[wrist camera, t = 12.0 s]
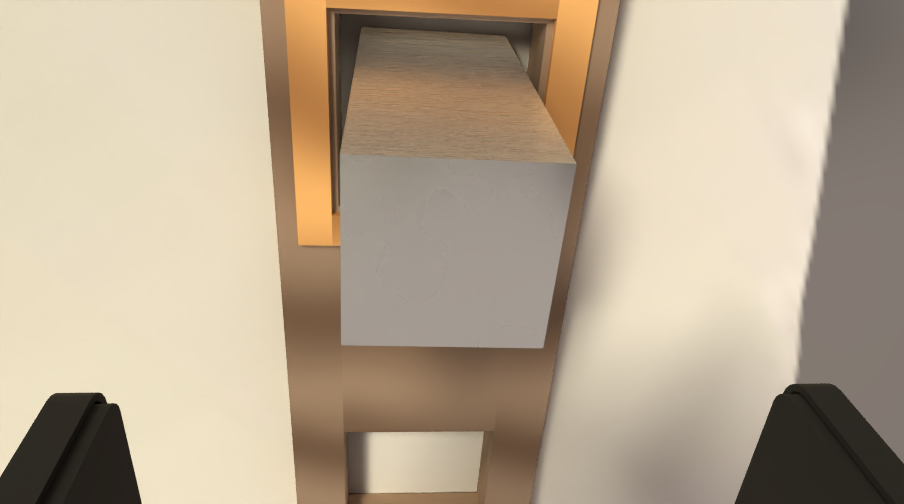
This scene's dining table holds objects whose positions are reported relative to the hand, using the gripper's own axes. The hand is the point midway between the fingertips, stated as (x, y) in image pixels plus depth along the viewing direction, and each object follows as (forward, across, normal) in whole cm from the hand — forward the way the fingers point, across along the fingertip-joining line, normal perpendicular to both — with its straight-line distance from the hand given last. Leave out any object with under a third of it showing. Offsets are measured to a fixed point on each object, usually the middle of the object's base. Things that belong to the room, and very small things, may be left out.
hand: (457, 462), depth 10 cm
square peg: (+15, 0, -1) cm, 15 cm away
